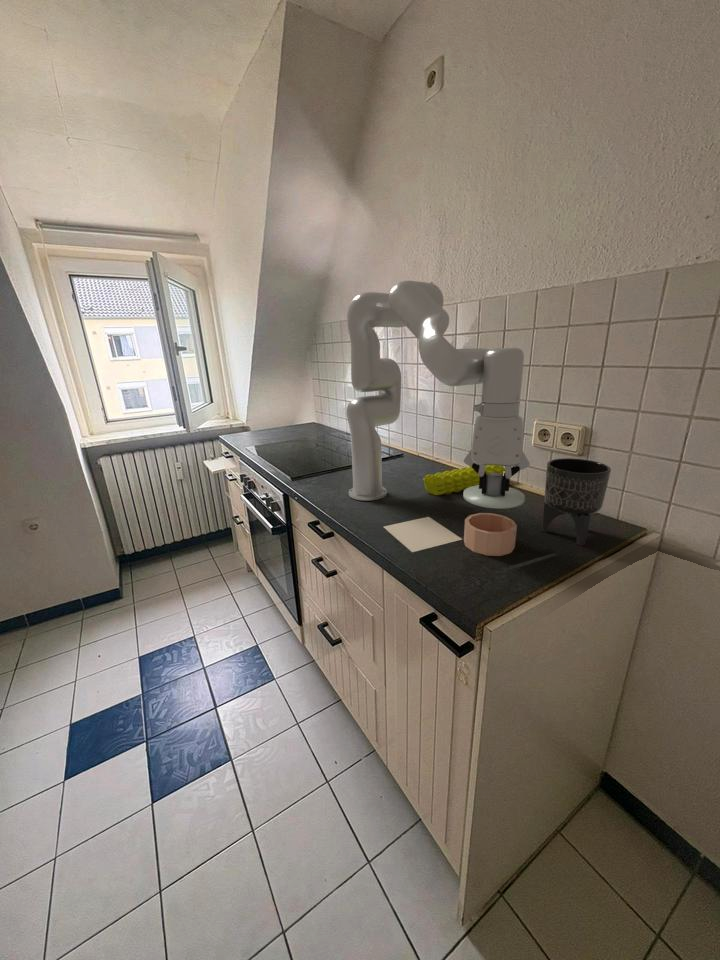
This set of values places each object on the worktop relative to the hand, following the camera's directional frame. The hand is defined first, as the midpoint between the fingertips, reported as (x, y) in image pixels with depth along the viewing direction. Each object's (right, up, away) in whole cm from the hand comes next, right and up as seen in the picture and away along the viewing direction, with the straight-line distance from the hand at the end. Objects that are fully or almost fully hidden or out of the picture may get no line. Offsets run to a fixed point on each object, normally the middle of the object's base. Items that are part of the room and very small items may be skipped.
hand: (493, 492), depth 84 cm
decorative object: (+6, 0, +43) cm, 44 cm away
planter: (+21, -11, +9) cm, 25 cm away
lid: (0, -1, 0) cm, 1 cm away
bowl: (0, -13, +4) cm, 14 cm away
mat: (-14, -11, +11) cm, 21 cm away
